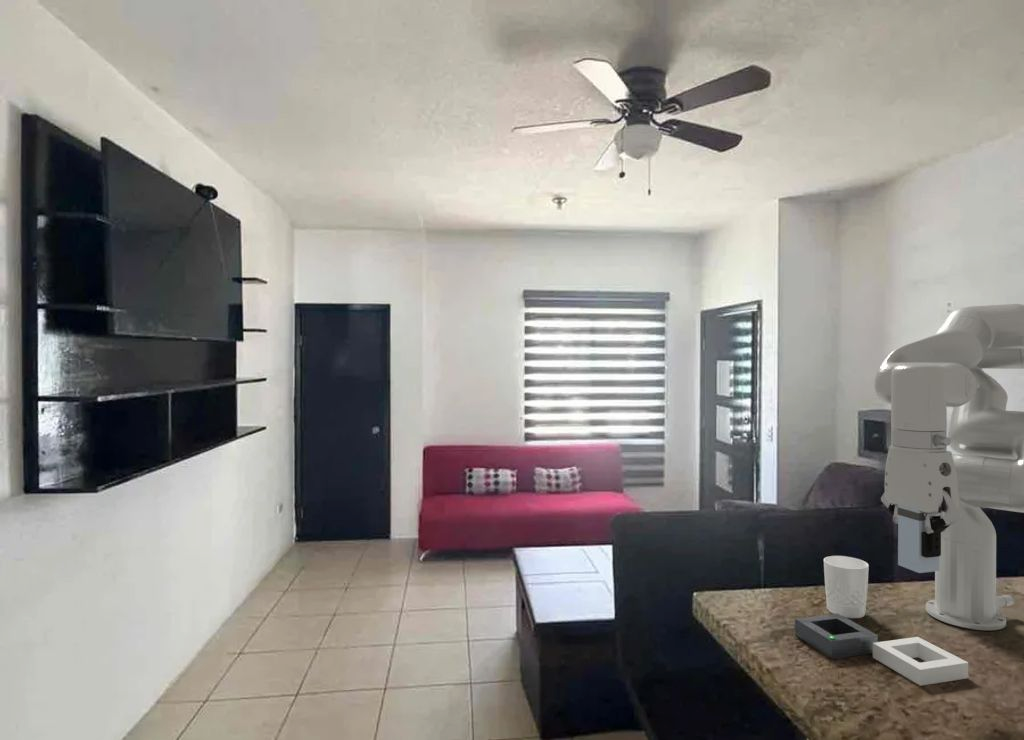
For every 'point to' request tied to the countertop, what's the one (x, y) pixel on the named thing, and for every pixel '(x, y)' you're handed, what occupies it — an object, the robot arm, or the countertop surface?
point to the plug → (913, 542)
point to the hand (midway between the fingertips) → (918, 550)
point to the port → (835, 635)
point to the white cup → (846, 585)
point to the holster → (932, 671)
